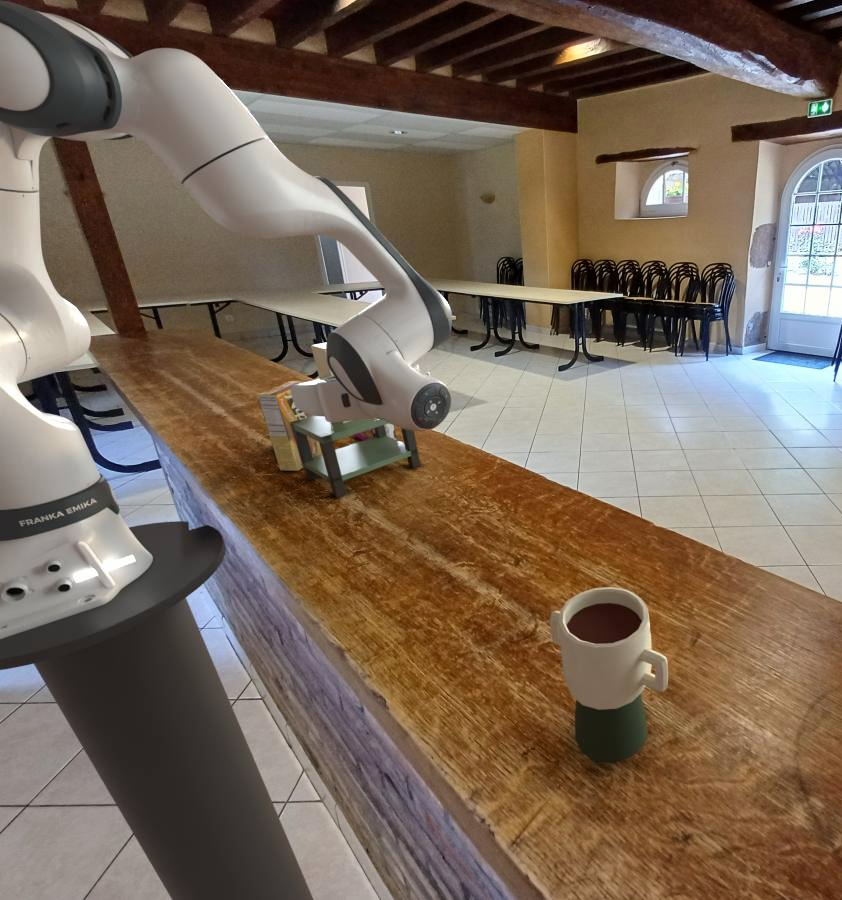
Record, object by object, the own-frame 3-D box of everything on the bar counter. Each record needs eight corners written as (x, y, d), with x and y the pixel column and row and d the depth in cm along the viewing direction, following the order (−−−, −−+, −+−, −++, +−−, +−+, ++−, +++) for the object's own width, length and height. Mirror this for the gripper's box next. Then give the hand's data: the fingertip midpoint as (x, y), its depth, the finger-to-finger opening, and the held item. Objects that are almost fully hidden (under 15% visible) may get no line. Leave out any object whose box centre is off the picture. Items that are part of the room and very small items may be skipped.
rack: (337, 497, 93) (321, 437, 89) (306, 478, 102) (289, 422, 97) (420, 465, 104) (409, 410, 100) (386, 450, 112) (375, 398, 108)
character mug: (687, 733, 47) (688, 611, 42) (646, 802, 42) (642, 672, 37) (583, 683, 53) (574, 570, 48) (536, 738, 48) (519, 617, 43)
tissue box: (343, 423, 95) (324, 347, 90) (329, 417, 99) (310, 344, 93) (373, 414, 99) (356, 341, 94) (359, 409, 102) (342, 338, 97)
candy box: (308, 453, 113) (288, 380, 107) (327, 453, 113) (307, 380, 107) (279, 471, 105) (255, 394, 99) (299, 471, 105) (276, 394, 99)
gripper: (431, 356, 94) (390, 347, 102) (308, 386, 80) (273, 373, 89) (438, 392, 96) (397, 380, 105) (319, 426, 82) (284, 410, 91)
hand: (339, 377), depth 97 cm, fingers closed on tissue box, 5 cm apart
